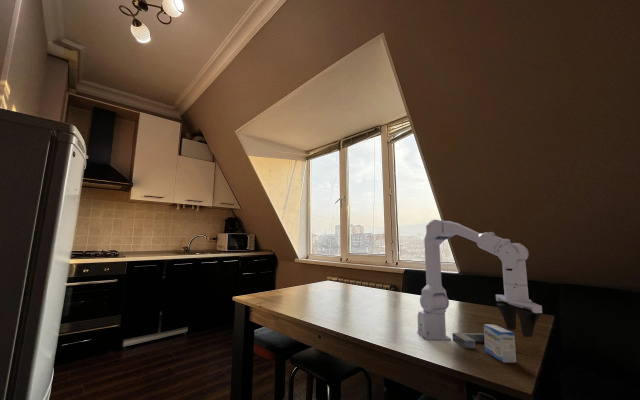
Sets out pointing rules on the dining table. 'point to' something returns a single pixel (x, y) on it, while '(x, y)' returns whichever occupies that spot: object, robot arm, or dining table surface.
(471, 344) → the grey flat block
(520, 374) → the dining table surface
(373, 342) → the dining table surface
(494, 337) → the medicine box
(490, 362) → the dining table surface
